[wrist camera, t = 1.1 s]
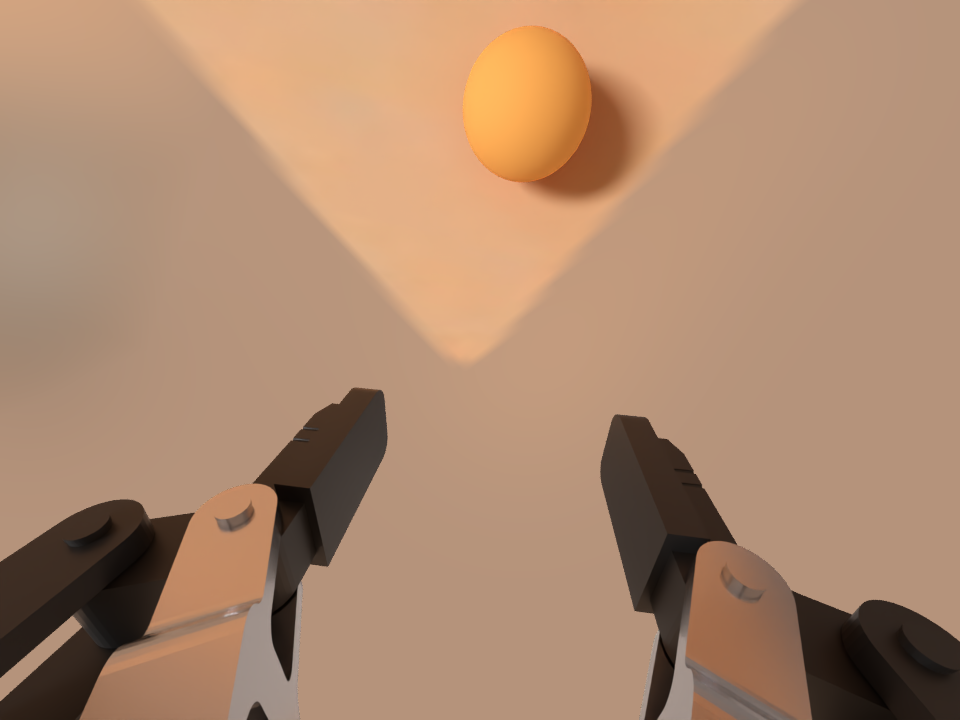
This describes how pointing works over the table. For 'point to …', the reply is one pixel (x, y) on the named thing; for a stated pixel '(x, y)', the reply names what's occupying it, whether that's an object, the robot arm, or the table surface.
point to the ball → (527, 103)
